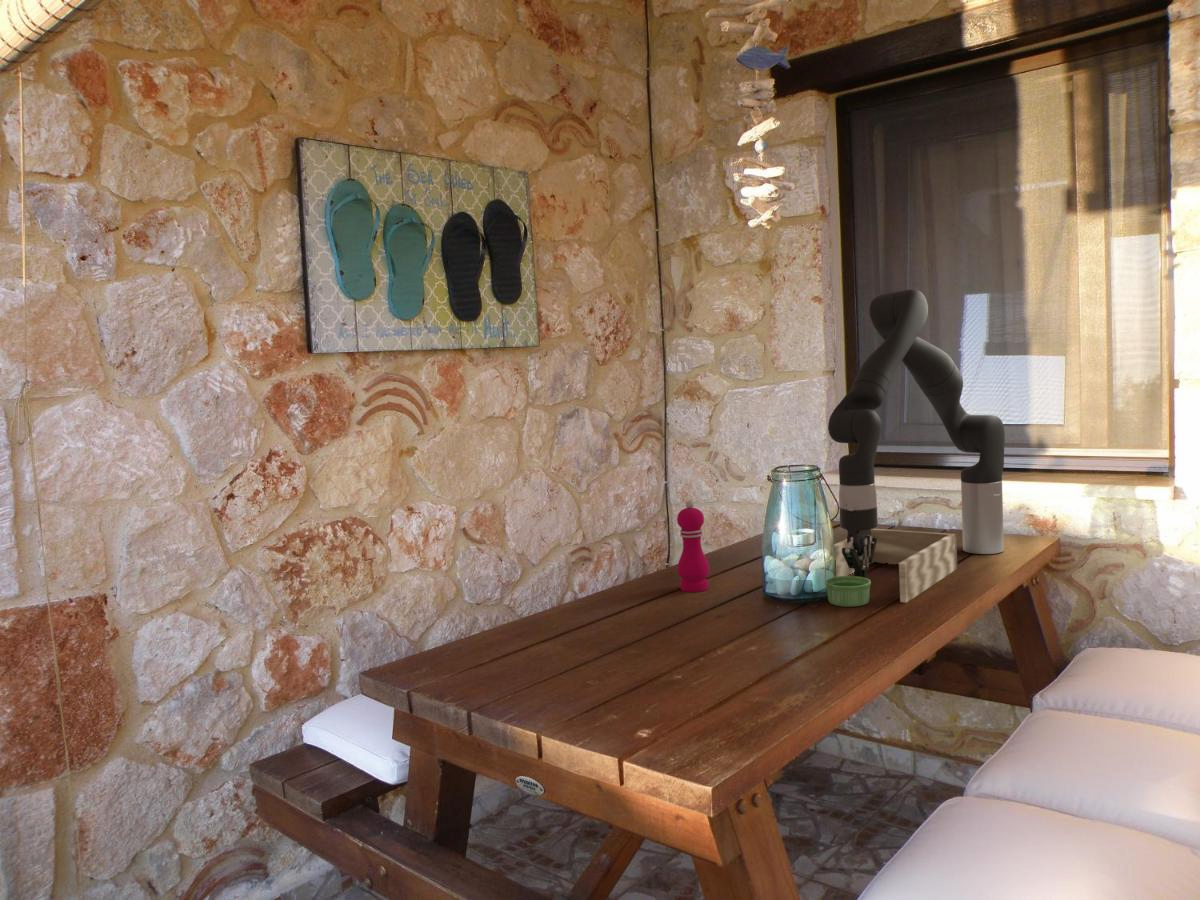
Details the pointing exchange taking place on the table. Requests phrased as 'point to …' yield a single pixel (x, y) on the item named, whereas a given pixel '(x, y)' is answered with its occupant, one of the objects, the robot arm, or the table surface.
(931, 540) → the wooden c-shaped frame
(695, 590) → the pepper mill
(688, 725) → the table surface
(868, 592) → the ramekin
